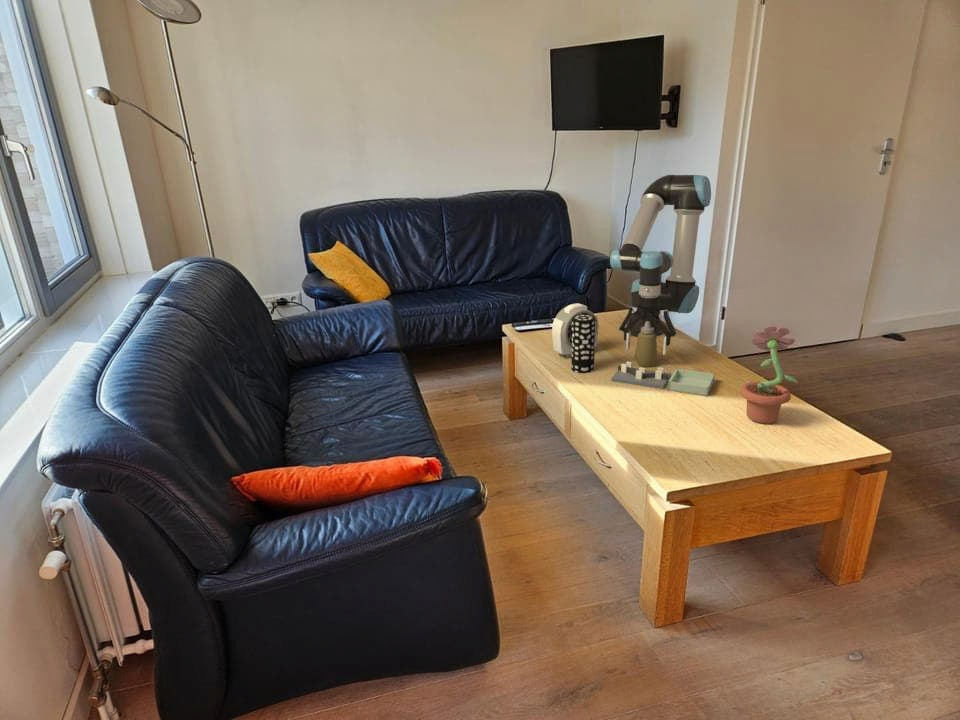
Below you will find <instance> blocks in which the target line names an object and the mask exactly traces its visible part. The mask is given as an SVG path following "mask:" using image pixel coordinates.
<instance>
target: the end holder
mask: <svg viewBox="0 0 960 720" xmlns="http://www.w3.org/2000/svg"><path fill="white" fill-rule="evenodd" d="M714 383H715V373H712V372H711V373H710V372H705V371H704V372H703V371H695V370H689V369H682V368H675V369H674V371H673V373H672V374H671V377H670V379H669V380H668V382H667V389H666V390H667V391H670V392H676V393H682V394H691V395H697V396H704V397H708V396H709V394H710V392H711V390H712V387H713V385H714Z"/></svg>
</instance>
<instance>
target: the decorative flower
mask: <svg viewBox="0 0 960 720" xmlns="http://www.w3.org/2000/svg"><path fill="white" fill-rule="evenodd" d="M763 330H764V331H763ZM763 330H761V329H758V330H756V331H755V332H754V334H753V338H751V342H752V344H753V345H755V346H756V347H757V348H758V349H760V350H763V351H768V352H770V357H771V358H767V359H765V360H764V361H762V363H761V364H759V365H760V366H759V367H767V366H769V365H770V364H771V363H773V367H774V370H775V373H776V378H774V379H772V380H766V381H750V382H746V383H745V384H743V385H742V386H741V387H740V390H739V391H740V392H739V394H740V396H741V398H743V399H745V400H746V416H747V418H748V419H749V420H750V421H752V422H755V423H759V424H765V425H766V424H773V423H775V422H777V421H778V419H779V415H780V411H781V407H782V405H785V404H786V403H789V402H790V401H791V397H792V395H791V393H790V391H789V389H788V388H786V387H784V386H783V385H780V384H781V383H782V382H783V380H784V378H785V379H786V380H787V381H789V382H792V383H797V384H798V383H799V382H798V381H797V380H796V379H795V378H794V377H793V376H790V375H787V374H784V371H783V368H782V366H781V362H780V359H779V353H778V351H781V350H786V349H789V346H791V345H793V344H794V343H795V342H796V339H795V338H789V337H788V336H786V335H788V334H790V332H791V331H790V330H789V329H788V328H785V327H782V326H781V327H779V328H778V327H777V326H774V325H769V326H765V327H764V329H763Z"/></svg>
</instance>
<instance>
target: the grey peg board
mask: <svg viewBox="0 0 960 720" xmlns="http://www.w3.org/2000/svg"><path fill="white" fill-rule="evenodd" d="M664 371H665V368H664V367H657V370H650V369H646V367H639V368H638V367H637V368H636V367H633V362H631V361H628V360H627V361H626V362H625V363H621V365H620V364H619V365H618V366H617V371H616V372H615V373H614V374H613V376H612V377H611V380H610V381H611V382H616V383H620V384H621V383H622V384H629V385H633V386H634V385H635V386H641V387H648V388H655V389H660V390H663V389H664V388H666V386H667V385H668V381H669V379H670V378H671V376H672V373H671V372H664Z"/></svg>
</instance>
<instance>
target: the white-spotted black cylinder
mask: <svg viewBox="0 0 960 720" xmlns="http://www.w3.org/2000/svg"><path fill="white" fill-rule="evenodd" d="M595 348H596V347H595V316H593V315H588V314H579V315H574V316H573V317H572V357H571V358H570V361H571V362H570V363H571V364H570V365H571V367H570V368H571V369H570V370H571V371H572V372H574V373H578V374H588V373H589V374H590V373H592V372H594V371H595Z"/></svg>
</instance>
